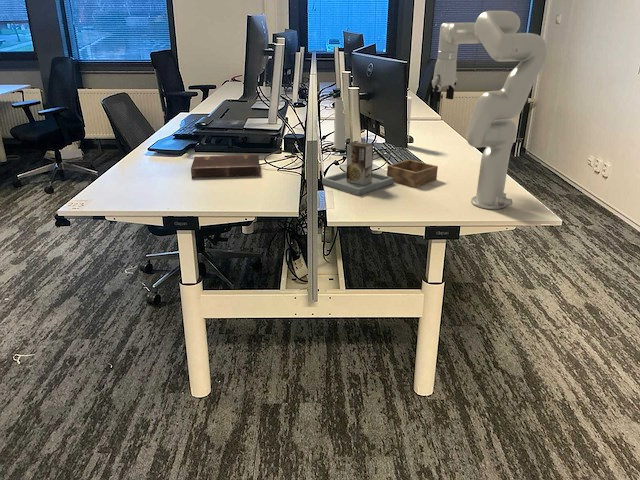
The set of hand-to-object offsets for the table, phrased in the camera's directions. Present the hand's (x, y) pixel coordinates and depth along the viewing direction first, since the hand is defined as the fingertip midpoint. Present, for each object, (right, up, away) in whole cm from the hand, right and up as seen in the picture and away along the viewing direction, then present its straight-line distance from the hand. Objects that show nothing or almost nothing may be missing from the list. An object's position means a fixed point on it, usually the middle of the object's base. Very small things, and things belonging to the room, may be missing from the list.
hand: (442, 100), depth 214 cm
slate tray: (-35, -34, +2) cm, 49 cm away
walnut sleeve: (-11, -32, +8) cm, 35 cm away
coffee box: (-34, -34, +2) cm, 48 cm away
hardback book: (-92, -27, +18) cm, 98 cm away
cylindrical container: (-7, -7, +64) cm, 64 cm away
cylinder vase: (-37, -9, +58) cm, 70 cm away
